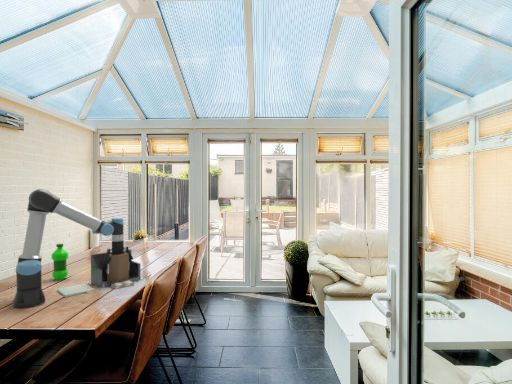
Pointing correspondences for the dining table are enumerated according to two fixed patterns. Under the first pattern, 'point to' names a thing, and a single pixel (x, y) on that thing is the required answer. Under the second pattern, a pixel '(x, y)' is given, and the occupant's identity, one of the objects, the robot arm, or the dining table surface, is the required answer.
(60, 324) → the dining table surface
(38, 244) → the robot arm
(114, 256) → the wooden block
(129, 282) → the cream offcut
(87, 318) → the dining table surface
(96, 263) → the rack
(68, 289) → the sage mat
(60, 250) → the plastic bottle
